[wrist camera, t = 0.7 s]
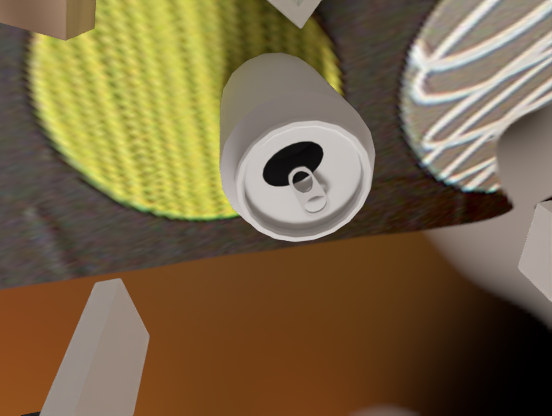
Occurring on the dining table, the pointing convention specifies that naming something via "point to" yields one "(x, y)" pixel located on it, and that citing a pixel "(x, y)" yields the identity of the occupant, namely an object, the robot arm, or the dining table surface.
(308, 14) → the tray
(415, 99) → the dining table surface
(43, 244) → the dining table surface
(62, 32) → the walnut block
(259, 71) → the can
